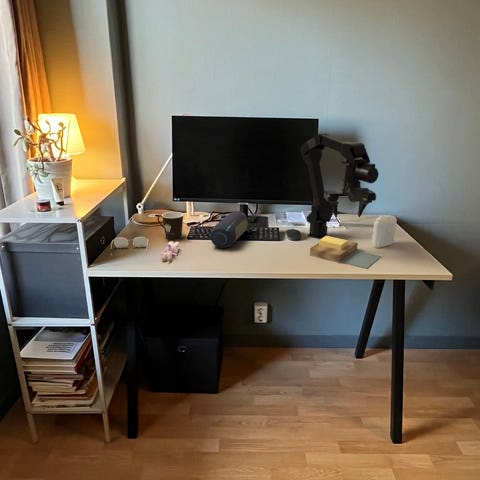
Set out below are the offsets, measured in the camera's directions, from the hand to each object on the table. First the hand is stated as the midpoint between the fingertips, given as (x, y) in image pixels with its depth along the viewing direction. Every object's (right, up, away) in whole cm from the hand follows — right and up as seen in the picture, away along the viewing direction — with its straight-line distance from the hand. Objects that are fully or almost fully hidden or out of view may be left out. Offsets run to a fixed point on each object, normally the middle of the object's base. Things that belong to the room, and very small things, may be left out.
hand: (347, 217), depth 178 cm
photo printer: (+16, -11, +8) cm, 21 cm away
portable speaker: (-45, -9, +13) cm, 48 cm away
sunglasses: (-84, -14, +1) cm, 85 cm away
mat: (+4, -16, -6) cm, 17 cm away
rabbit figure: (-67, -15, -3) cm, 69 cm away
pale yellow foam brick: (-6, -11, -1) cm, 12 cm away
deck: (-5, -14, 0) cm, 15 cm away
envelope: (+11, -1, +36) cm, 38 cm away
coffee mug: (-70, -8, +16) cm, 72 cm away
